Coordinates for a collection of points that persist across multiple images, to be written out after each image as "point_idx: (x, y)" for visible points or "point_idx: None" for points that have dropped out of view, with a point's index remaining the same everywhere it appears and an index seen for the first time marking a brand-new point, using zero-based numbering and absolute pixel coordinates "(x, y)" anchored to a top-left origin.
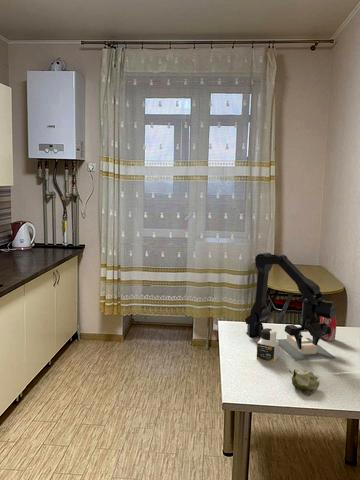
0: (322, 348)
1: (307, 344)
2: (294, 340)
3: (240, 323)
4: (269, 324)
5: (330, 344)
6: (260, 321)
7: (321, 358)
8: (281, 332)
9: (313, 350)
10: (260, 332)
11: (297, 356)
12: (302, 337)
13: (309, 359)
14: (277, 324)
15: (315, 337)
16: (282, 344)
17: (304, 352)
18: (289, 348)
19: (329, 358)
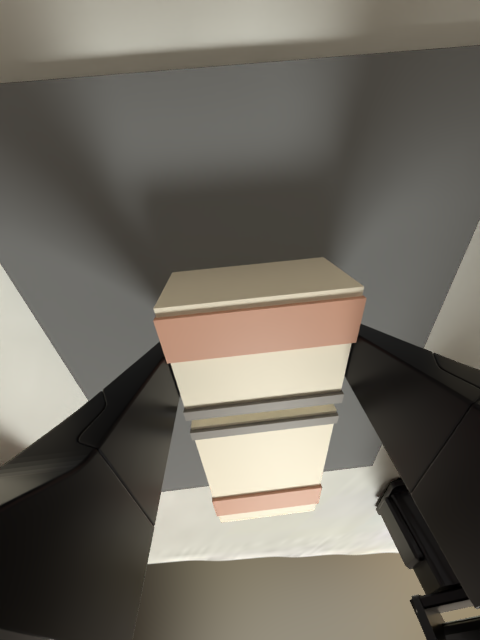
0: (82, 376)
1: (253, 373)
2: (328, 444)
3: (378, 547)
4: (276, 553)
5: (10, 439)
6: (451, 604)
7: (145, 100)
8: (266, 519)
9: (204, 283)
10: (414, 512)
11: (419, 201)
12: (226, 486)
13: (337, 75)
14: (245, 556)
15: (123, 476)
16: (361, 422)
17: (315, 265)
18: None
19: (14, 88)
